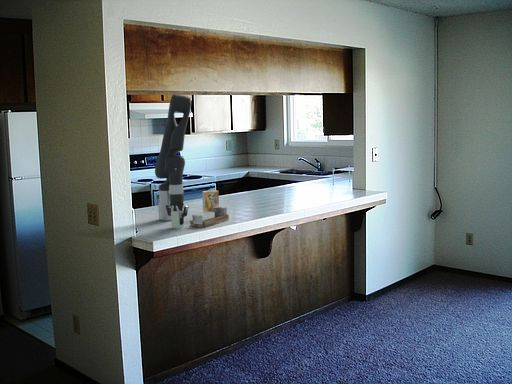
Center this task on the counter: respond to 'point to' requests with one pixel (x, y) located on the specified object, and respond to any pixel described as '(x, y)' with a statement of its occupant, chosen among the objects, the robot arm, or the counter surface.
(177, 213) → the block
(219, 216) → the channel
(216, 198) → the candy box
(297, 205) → the counter surface
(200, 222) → the jaw
